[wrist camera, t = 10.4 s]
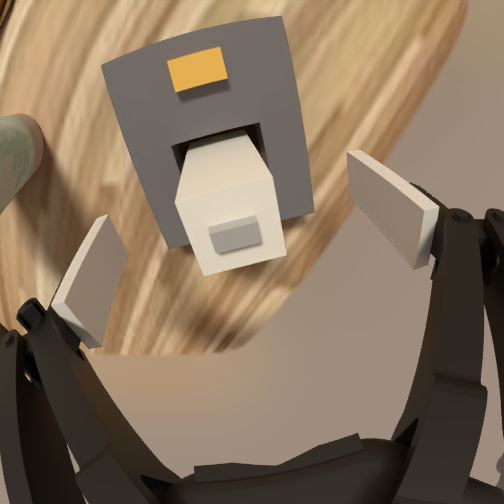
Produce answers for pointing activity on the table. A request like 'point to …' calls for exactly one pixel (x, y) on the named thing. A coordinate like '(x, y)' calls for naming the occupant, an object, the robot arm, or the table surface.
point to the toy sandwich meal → (4, 9)
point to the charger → (229, 204)
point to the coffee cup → (18, 154)
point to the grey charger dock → (211, 110)
